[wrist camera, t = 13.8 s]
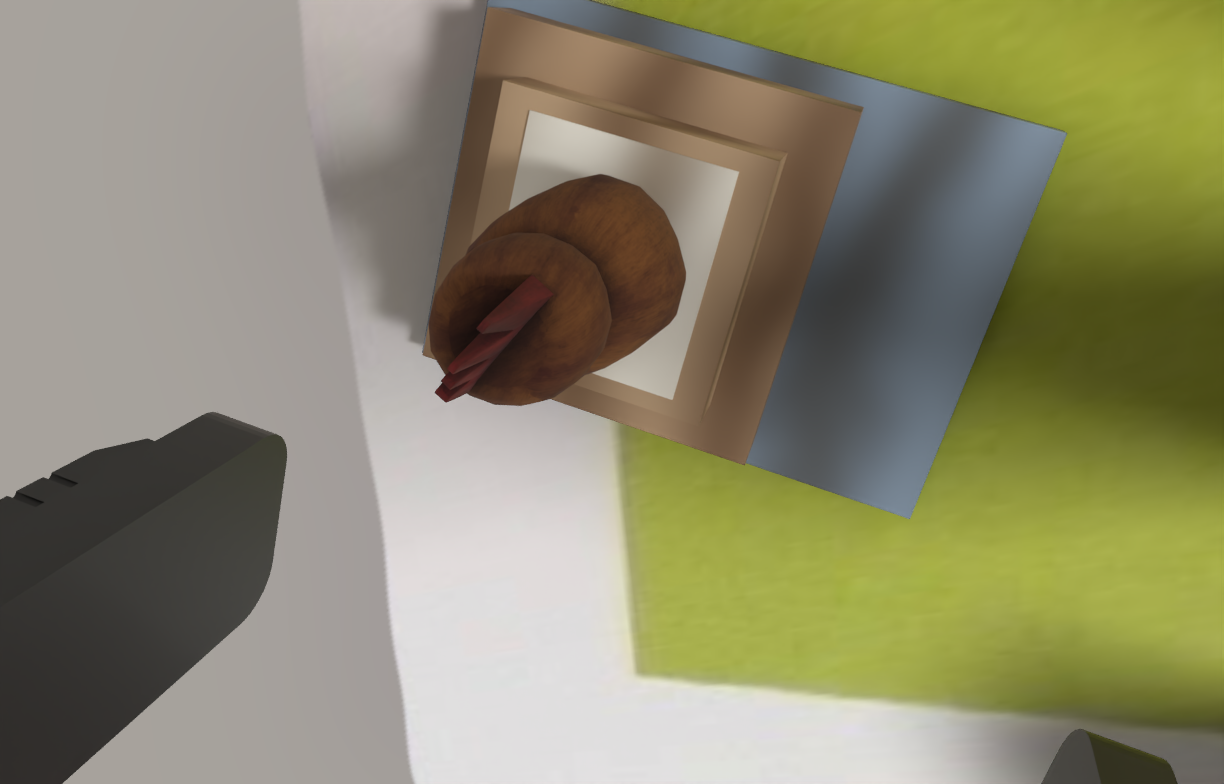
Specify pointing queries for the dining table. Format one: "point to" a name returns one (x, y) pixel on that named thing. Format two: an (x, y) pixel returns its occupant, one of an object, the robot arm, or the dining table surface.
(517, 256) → the wooden figurine
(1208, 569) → the dining table surface
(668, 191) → the board
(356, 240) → the dining table surface
